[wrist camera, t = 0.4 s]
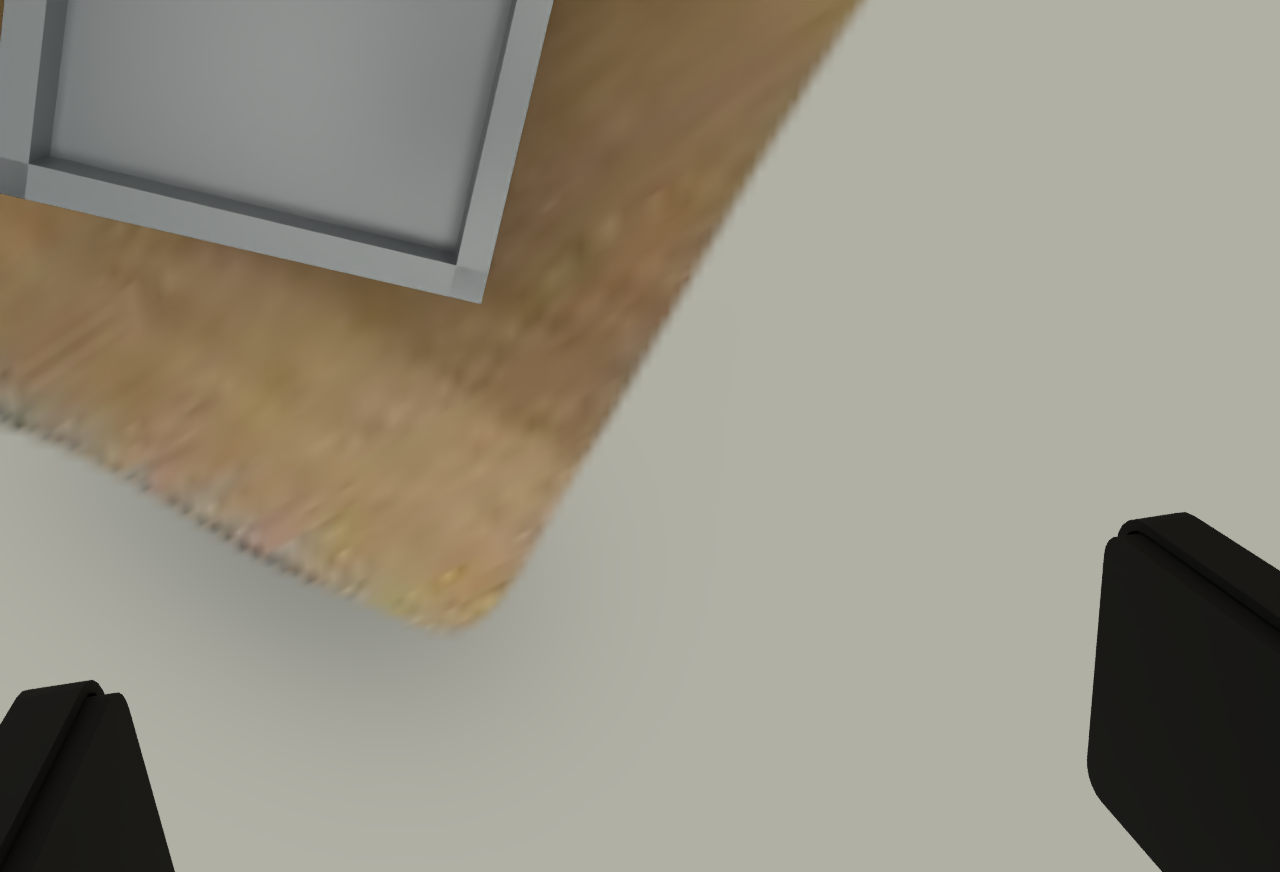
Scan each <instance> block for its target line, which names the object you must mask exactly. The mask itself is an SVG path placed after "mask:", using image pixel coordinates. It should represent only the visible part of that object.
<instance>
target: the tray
mask: <svg viewBox="0 0 1280 872" xmlns="http://www.w3.org/2000/svg"><path fill="white" fill-rule="evenodd" d="M552 4H553V0H5V2H4V11H3V21H2V31H1V41H0V193H1V194H5V195H9V196H14V197H18V198H22V199H27V200H31V201H35V202H40V203H44V204H48V205H53V206H57V207H61V208H66V209H70V210H74V211H79V212H83V213H87V214H92V215H96V216H100V217H105V218H109V219H113V220H118V221H122V222H126V223H131V224H135V225H139V226H144V227H148V228H153V229H157V230H161V231H166V232H170V233H174V234H179V235H183V236H187V237H192V238H196V239H200V240H205V241H209V242H213V243H218V244H222V245H226V246H231V247H235V248H239V249H244V250H248V251H252V252H257V253H261V254H265V255H270V256H274V257H278V258H283V259H287V260H292V261H296V262H300V263H305V264H309V265H313V266H318V267H322V268H326V269H331V270H335V271H339V272H344V273H348V274H352V275H357V276H361V277H365V278H370V279H374V280H378V281H383V282H387V283H391V284H396V285H400V286H404V287H409V288H413V289H417V290H422V291H426V292H431V293H435V294H439V295H444V296H448V297H452V298H457V299H461V300H465V301H470V302H474V303H478V304H481V302H482V298H483V294H484V289H485V285H486V281H487V277H488V273H489V268H490V264H491V260H492V256H493V252H494V247H495V243H496V239H497V235H498V231H499V226H500V222H501V218H502V214H503V210H504V205H505V201H506V197H507V193H508V189H509V185H510V180H511V176H512V172H513V168H514V164H515V159H516V155H517V151H518V147H519V143H520V138H521V134H522V130H523V126H524V122H525V117H526V113H527V109H528V105H529V101H530V96H531V92H532V88H533V84H534V80H535V75H536V71H537V67H538V63H539V59H540V55H541V50H542V46H543V42H544V38H545V34H546V29H547V25H548V21H549V17H550V13H551V8H552Z"/></svg>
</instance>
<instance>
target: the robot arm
mask: <svg viewBox="0 0 1280 872" xmlns="http://www.w3.org/2000/svg"><path fill="white" fill-rule="evenodd" d="M1087 768H1088V773H1089V778H1090V781H1091V784H1092V787H1093V788H1094V791H1095V793H1096V795H1097V796H1098V798H1099V799H1100V800H1101V802H1102V803H1103V804H1104V805H1105V806H1106V807H1107V809H1108V810H1109V811H1110V812H1111V813H1112V814H1113V816H1114V817H1115V818H1116V819H1117V820H1118V821H1119V822H1120V823H1121V825H1122V826H1123V827H1124V828H1125V829H1126V831H1128V833H1129V834H1130V835H1131V836H1132V837H1133V839H1134V840H1135V841H1136V842H1137V843H1138V844H1139V846H1140V847H1141V848H1142V849H1143V850H1144V851H1145V852H1146V854H1147V855H1148V856H1149V857H1150V858H1151V859H1152V861H1153V862H1154V863H1155V864H1156V865H1157V866H1158V867H1159V868H1160V870H1161V871H1162V872H1280V571H1279V570H1278V569H1276V568H1275V567H1273V566H1271V565H1270V564H1268V563H1267V562H1265V561H1263V560H1262V559H1260V558H1259V557H1257V556H1256V555H1254V554H1253V553H1251V552H1250V551H1248V550H1246V549H1245V548H1243V547H1242V546H1240V545H1239V544H1237V543H1235V542H1234V541H1232V540H1231V539H1229V538H1228V537H1226V536H1225V535H1223V534H1221V533H1220V532H1218V531H1217V530H1215V529H1214V528H1212V527H1210V526H1209V525H1208V524H1206V523H1205V522H1203V521H1201V520H1200V519H1198V518H1197V517H1195V516H1193V515H1191V514H1189V513H1186V512H1182V513H1174V514H1167V515H1162V516H1155V517H1148V518H1141V519H1135V520H1129V521H1127V522H1126V523H1125V524H1123V525H1122V527H1121V529H1120V531H1119V533H1118V537H1113V538H1112V539H1110V540H1109V541H1108V543H1107V545H1106V548H1105V553H1104V563H1103V574H1102V586H1101V598H1100V610H1099V622H1098V634H1097V646H1096V658H1095V670H1094V682H1093V694H1092V706H1091V718H1090V730H1089V743H1088V755H1087ZM0 872H175V871H174V867H173V864H172V860H171V856H170V853H169V849H168V846H167V843H166V839H165V835H164V832H163V828H162V824H161V821H160V817H159V814H158V810H157V807H156V803H155V800H154V796H153V792H152V789H151V785H150V782H149V778H148V774H147V771H146V767H145V764H144V760H143V757H142V753H141V749H140V746H139V742H138V739H137V735H136V732H135V728H134V724H133V721H132V717H131V714H130V710H129V707H128V704H127V702H126V700H125V698H124V696H123V695H122V694H120V693H112V694H106V695H105V694H104V692H103V690H102V688H101V687H100V686H99V684H98V683H97V682H95V681H93V680H89V681H83V682H76V683H69V684H63V685H57V686H50V687H43V688H37V689H31V690H26V691H22V692H21V693H20V695H19V696H18V697H17V698H16V700H15V701H14V703H13V704H12V706H11V708H10V710H9V711H8V713H7V714H6V716H5V718H4V719H3V721H2V723H1V724H0Z"/></svg>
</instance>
